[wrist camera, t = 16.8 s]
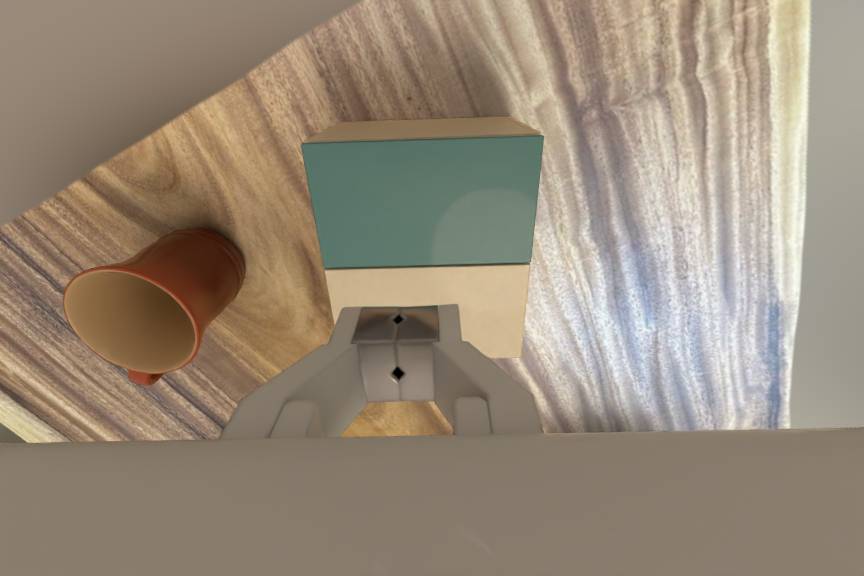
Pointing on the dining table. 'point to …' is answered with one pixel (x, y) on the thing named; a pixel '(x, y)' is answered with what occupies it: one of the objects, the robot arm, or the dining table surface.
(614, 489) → the robot arm
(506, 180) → the flap
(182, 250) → the mug
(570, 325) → the dining table surface
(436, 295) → the carton
